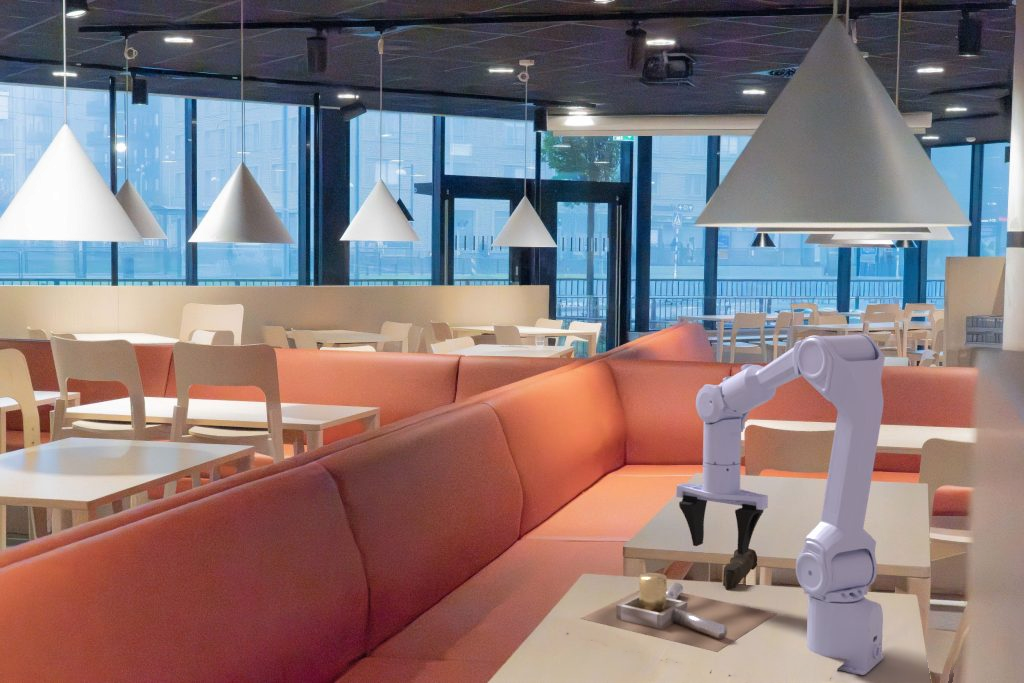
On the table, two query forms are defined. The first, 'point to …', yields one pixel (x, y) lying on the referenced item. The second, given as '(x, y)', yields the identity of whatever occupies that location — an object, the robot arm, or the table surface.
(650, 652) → the table surface
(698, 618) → the shaft
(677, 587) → the shaft
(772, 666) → the table surface
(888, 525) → the table surface
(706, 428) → the robot arm
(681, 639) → the plate
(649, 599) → the brass cylinder
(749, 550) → the hand tool
